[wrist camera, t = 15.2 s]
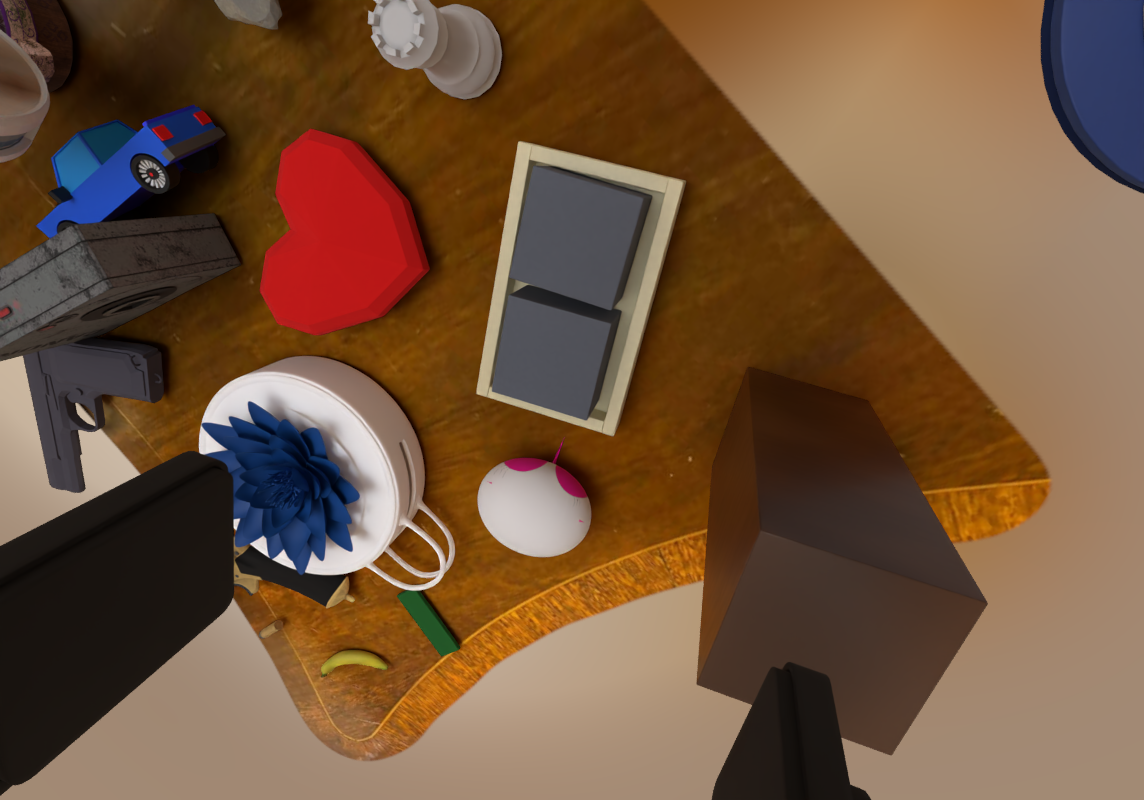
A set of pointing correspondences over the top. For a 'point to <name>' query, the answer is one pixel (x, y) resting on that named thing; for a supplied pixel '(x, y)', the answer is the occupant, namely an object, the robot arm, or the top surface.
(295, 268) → the heart
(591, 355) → the seated pad
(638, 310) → the frame
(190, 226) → the camera
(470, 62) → the rook chess piece
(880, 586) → the stand
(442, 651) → the green plastic strip
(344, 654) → the fruit
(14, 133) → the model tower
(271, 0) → the grey irregular lump
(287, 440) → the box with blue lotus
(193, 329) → the top surface
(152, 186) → the toy car
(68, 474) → the handgun
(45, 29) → the mug
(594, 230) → the loose pad
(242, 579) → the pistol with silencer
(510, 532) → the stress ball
